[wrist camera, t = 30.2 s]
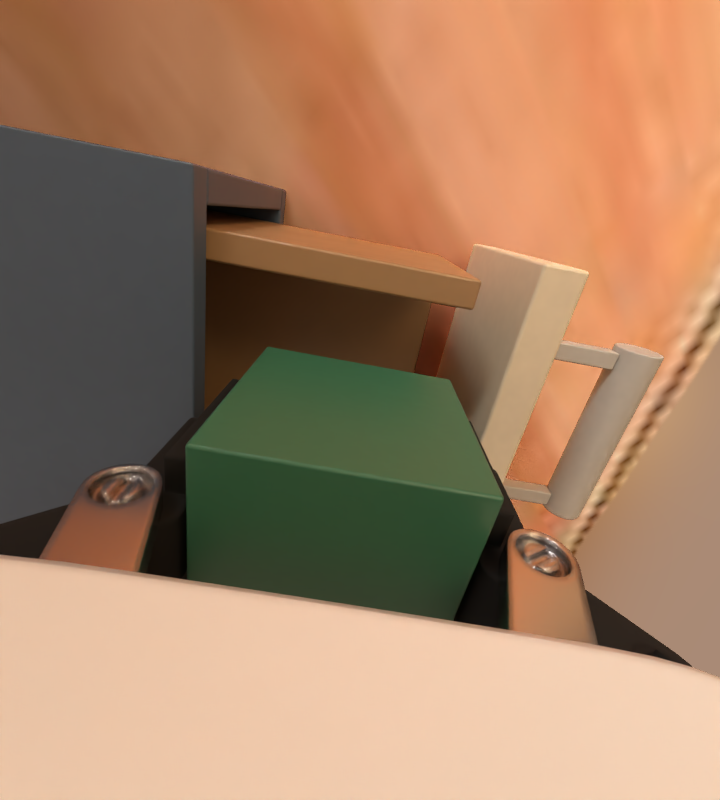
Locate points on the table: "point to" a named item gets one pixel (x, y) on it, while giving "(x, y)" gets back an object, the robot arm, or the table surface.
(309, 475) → the block
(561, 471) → the drawer
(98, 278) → the cabinet
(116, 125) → the table surface
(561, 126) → the table surface
